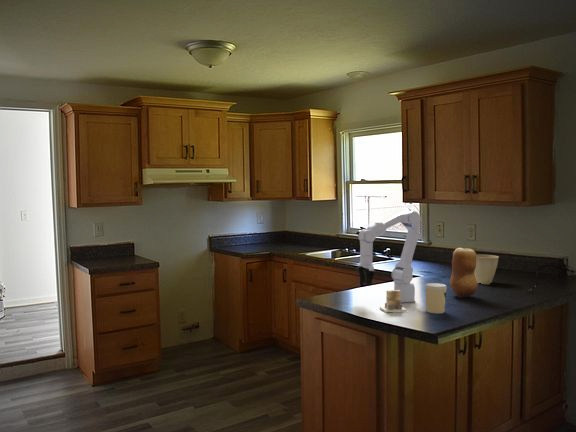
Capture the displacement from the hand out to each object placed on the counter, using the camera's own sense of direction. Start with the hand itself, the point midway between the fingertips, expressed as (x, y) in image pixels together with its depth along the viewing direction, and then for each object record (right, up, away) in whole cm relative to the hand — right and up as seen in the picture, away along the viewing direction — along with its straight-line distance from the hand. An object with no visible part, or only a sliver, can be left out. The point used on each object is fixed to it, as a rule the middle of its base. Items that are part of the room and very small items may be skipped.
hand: (365, 283), depth 249 cm
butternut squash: (+52, -9, +18) cm, 55 cm away
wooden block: (+11, -10, -11) cm, 18 cm away
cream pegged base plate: (+11, -11, -11) cm, 19 cm away
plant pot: (+77, -7, +57) cm, 96 cm away
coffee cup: (+29, -11, -13) cm, 34 cm away
